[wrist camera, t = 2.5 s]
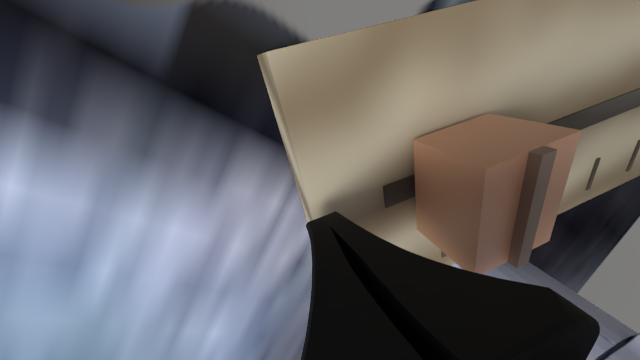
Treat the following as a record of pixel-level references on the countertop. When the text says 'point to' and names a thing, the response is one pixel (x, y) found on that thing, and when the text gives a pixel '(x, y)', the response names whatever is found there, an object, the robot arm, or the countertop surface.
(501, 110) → the fader console
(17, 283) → the countertop surface
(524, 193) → the fader knob
